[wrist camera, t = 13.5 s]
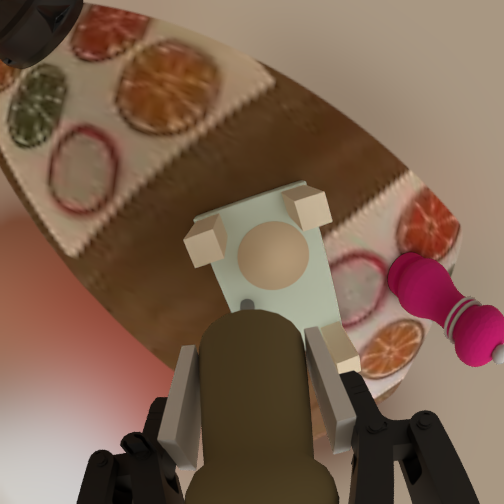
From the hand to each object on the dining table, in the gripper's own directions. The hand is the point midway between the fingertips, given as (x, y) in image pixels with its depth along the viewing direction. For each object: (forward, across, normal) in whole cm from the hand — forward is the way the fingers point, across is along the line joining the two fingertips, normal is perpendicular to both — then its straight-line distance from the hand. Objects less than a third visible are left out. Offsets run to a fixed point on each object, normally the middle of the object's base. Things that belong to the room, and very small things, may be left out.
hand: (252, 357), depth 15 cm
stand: (+18, +3, -3) cm, 18 cm away
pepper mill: (+18, +21, -6) cm, 28 cm away
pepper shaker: (0, 0, 0) cm, 0 cm away
